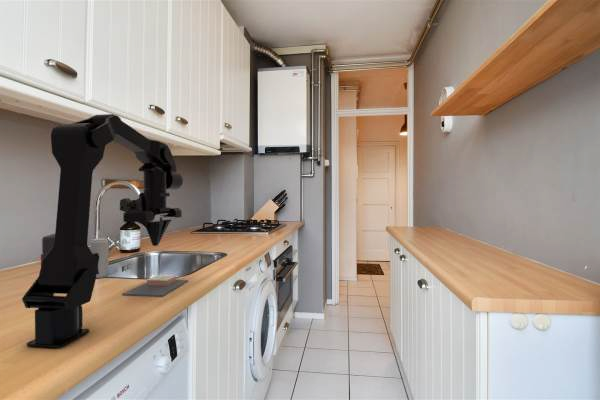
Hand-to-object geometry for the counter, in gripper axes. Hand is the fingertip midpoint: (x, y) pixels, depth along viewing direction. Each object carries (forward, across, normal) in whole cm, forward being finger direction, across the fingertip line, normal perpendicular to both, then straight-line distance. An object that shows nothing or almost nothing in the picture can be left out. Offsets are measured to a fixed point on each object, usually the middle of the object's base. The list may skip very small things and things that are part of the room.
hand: (155, 245), depth 85 cm
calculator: (+12, +2, -28) cm, 31 cm away
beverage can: (+12, -10, -25) cm, 30 cm away
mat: (+12, -1, 0) cm, 12 cm away
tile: (+11, -2, -1) cm, 11 cm away
